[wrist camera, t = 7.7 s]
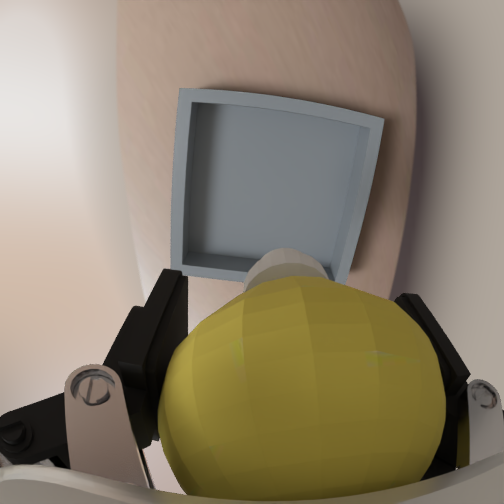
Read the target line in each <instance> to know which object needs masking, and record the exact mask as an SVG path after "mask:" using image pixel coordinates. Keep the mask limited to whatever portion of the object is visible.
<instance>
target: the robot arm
mask: <svg viewBox="0 0 504 504" xmlns="http://www.w3.org/2000/svg"><path fill="white" fill-rule="evenodd" d="M394 302H395V303H396V304H397V305H398V306H399V307H400V308H401V309H402V310H404V311H405V312H406V313H407V314H408V315H409V316H410V317H411V318H412V319H413V320H414V321H415V322H416V323H417V324H418V325H419V326H420V327H421V329H422V330H423V331H424V333H425V334H426V335H427V336H428V338H429V340H430V342H431V344H432V346H433V348H434V351H435V353H436V355H437V358H438V362H439V367H440V371H441V376H442V381H443V386H444V391H445V397H446V416H445V424H444V428H443V433H442V437H441V441H440V444H439V446H438V449H437V451H436V453H435V455H434V458H433V460H432V462H431V464H430V466H429V467H428V469H427V471H426V472H425V474H424V475H423V477H422V478H421V480H420V481H419V482H416V483H412V484H409V485H404V486H400V487H396V488H392V489H387V490H382V491H377V492H371V493H366V494H359V495H353V496H346V497H337V498H328V499H317V500H301V501H242V500H227V499H216V498H207V497H198V496H191V495H183V494H177V493H170V492H165V491H159V490H156V488H155V485H154V482H153V479H152V476H151V473H150V470H149V467H148V464H147V460H146V457H145V454H144V450H143V449H144V448H146V447H148V446H150V445H151V442H152V440H155V441H159V438H160V436H159V431H158V405H159V400H160V394H161V389H162V386H163V382H164V379H165V375H166V372H167V368H168V365H169V363H170V360H171V358H172V355H173V353H174V351H175V349H176V348H177V347H178V346H179V345H180V343H181V342H182V341H183V340H184V339H185V338H186V337H187V336H188V276H183V275H182V271H180V270H172V269H163V271H162V273H161V275H160V276H159V278H158V280H157V282H156V284H155V286H154V288H153V290H152V292H151V294H150V296H149V298H148V300H147V302H146V304H145V306H144V307H140V306H134V307H133V308H132V309H131V311H130V312H129V314H128V316H127V318H126V320H125V322H124V324H123V326H122V328H121V329H120V331H119V333H118V335H117V337H116V339H115V341H114V343H113V345H112V347H111V349H110V351H109V353H108V355H107V357H106V359H105V361H104V363H103V365H99V364H90V365H86V366H82V367H80V368H78V369H76V370H74V371H73V372H72V373H71V374H70V375H69V377H68V379H67V380H66V382H65V388H64V392H63V393H61V394H58V395H55V396H53V397H50V398H47V399H44V400H41V401H39V402H36V403H33V404H30V405H27V406H24V407H21V408H19V409H16V410H13V411H10V412H7V413H5V414H3V415H2V416H1V417H0V504H504V410H502V405H501V399H500V396H499V393H498V392H497V390H496V389H495V388H494V387H493V386H492V385H491V384H490V383H488V382H487V381H484V380H480V379H476V380H473V381H471V382H470V383H469V384H467V382H466V380H467V379H468V377H469V376H470V375H471V374H470V372H469V370H468V369H467V367H466V366H465V364H464V362H463V361H462V359H461V357H460V356H459V354H458V353H457V351H456V349H455V348H454V346H453V345H452V343H451V342H450V340H449V339H448V337H447V335H446V334H445V333H444V331H443V329H442V328H441V326H440V325H439V324H438V322H437V321H436V319H435V318H434V316H433V315H432V313H431V312H430V311H429V309H428V308H427V307H426V305H425V304H424V302H423V301H422V299H421V298H420V297H419V295H417V294H409V293H403V294H401V295H400V296H399V297H397V298H396V299H395V301H394ZM456 468H458V469H457V470H456Z"/></svg>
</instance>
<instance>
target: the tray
mask: <svg viewBox="0 0 504 504" xmlns="http://www.w3.org/2000/svg"><path fill="white" fill-rule="evenodd" d="M383 125H384V119H383V118H379V117H376V116H372V115H368V114H364V113H360V112H356V111H352V110H348V109H344V108H339V107H335V106H330V105H325V104H320V103H315V102H310V101H304V100H298V99H292V98H286V97H279V96H272V95H265V94H256V93H247V92H237V91H226V90H212V89H192V88H179V98H178V108H177V118H176V130H175V143H174V158H173V175H172V199H171V269H172V270H180V271H182V275H186V276H194V277H203V278H211V279H219V280H228V281H237V282H244V281H245V279H246V276H247V274H248V272H249V270H250V269H251V268H252V267H253V266H254V265H255V264H256V263H257V261H259V260H261V258H262V257H263V256H264V255H265V254H267V253H269V252H270V251H272V250H275V249H279V248H292V249H295V250H298V251H300V252H302V253H304V254H306V255H309V256H311V257H313V258H314V259H315V260H316V261H318V262H319V263H320V264H321V265H322V267H323V269H324V270H325V272H326V274H327V276H328V278H329V280H331V281H334V282H337V283H340V284H343V285H345V283H346V280H347V277H348V274H349V270H350V267H351V263H352V260H353V256H354V253H355V249H356V246H357V242H358V238H359V235H360V231H361V227H362V223H363V219H364V215H365V211H366V207H367V203H368V199H369V195H370V190H371V186H372V181H373V177H374V172H375V167H376V162H377V157H378V152H379V147H380V142H381V136H382V131H383Z"/></svg>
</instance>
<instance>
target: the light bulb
mask: <svg viewBox="0 0 504 504" xmlns="http://www.w3.org/2000/svg"><path fill="white" fill-rule="evenodd" d="M445 416H446V397H445V391H444V386H443V381H442V376H441V371H440V367H439V362H438V358H437V355H436V353H435V351H434V348H433V346H432V344H431V342H430V340H429V338H428V336H427V335H426V334H425V333H424V331H423V330H422V329H421V327H420V326H419V325H418V324H417V323H416V322H415V321H414V320H413V319H412V318H411V317H410V316H409V315H408V314H407V313H406V312H405V311H404V310H402V309H401V308H400V307H399V306H398V305H397V304H396V303H395V302H392V301H389V300H387V299H384V298H381V297H378V296H375V295H372V294H369V293H366V292H363V291H361V290H358V289H355V288H352V287H349V286H346V285H343V284H340V283H337V282H334V281H331V280H329V278H328V276H327V274H326V272H325V270H324V269H323V267H322V265H321V264H320V263H319V262H318V261H316V260H315V259H314V258H313V257H311V256H309V255H306V254H304V253H302V252H300V251H298V250H295V249H292V248H279V249H275V250H272V251H270V252H269V253H267V254H265V255H264V256H263V257H262V258H261V260H259V261H257V263H256V264H255V265H254V266H253V267H252V268H251V269H250V270H249V272H248V274H247V276H246V279H245V281H244V291H243V293H242V294H240V295H239V296H237V297H236V298H234V299H233V300H231V301H230V302H228V303H227V304H226V305H224V306H223V307H221V308H220V309H218V310H217V311H216V312H214V313H213V314H211V315H210V316H208V317H207V318H206V319H204V320H203V321H201V322H200V323H199V324H198V325H197V326H196V327H195V329H194V330H193V331H192V332H191V333H190V334H189V335H188V336H187V337H186V338H185V339H184V340H183V341H182V342H181V343H180V345H179V346H178V347H177V348H176V349H175V351H174V353H173V355H172V358H171V360H170V363H169V365H168V368H167V372H166V375H165V379H164V382H163V386H162V389H161V394H160V400H159V405H158V431H159V436H160V440H161V443H162V447H163V451H164V454H165V456H166V458H167V461H168V463H169V465H170V467H171V469H172V471H173V473H174V475H175V477H176V479H177V481H178V483H179V484H180V487H181V488H182V489H183V491H184V492H185V493H186V494H187V495H191V496H198V497H207V498H216V499H227V500H242V501H301V500H317V499H328V498H337V497H346V496H353V495H359V494H366V493H371V492H377V491H382V490H387V489H392V488H396V487H400V486H404V485H409V484H412V483H416V482H419V481H420V480H421V478H422V477H423V475H424V474H425V472H426V471H427V469H428V467H429V466H430V464H431V462H432V460H433V458H434V455H435V453H436V451H437V449H438V446H439V444H440V441H441V437H442V433H443V428H444V424H445Z"/></svg>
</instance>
